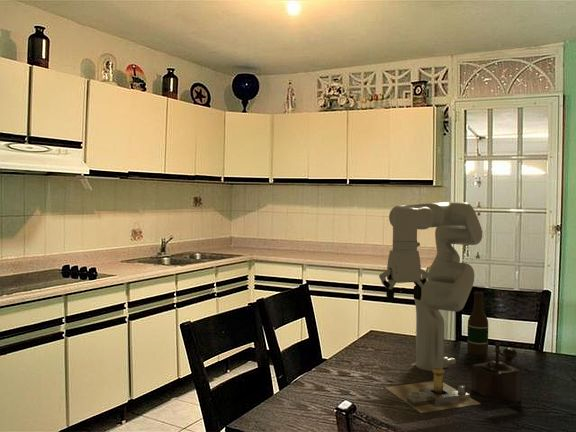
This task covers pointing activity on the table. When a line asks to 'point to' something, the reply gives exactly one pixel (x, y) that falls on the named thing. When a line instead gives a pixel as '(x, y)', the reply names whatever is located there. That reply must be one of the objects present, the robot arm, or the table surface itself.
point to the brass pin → (438, 380)
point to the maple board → (409, 388)
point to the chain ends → (437, 397)
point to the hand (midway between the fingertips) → (403, 300)
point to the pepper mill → (498, 377)
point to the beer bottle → (477, 328)
